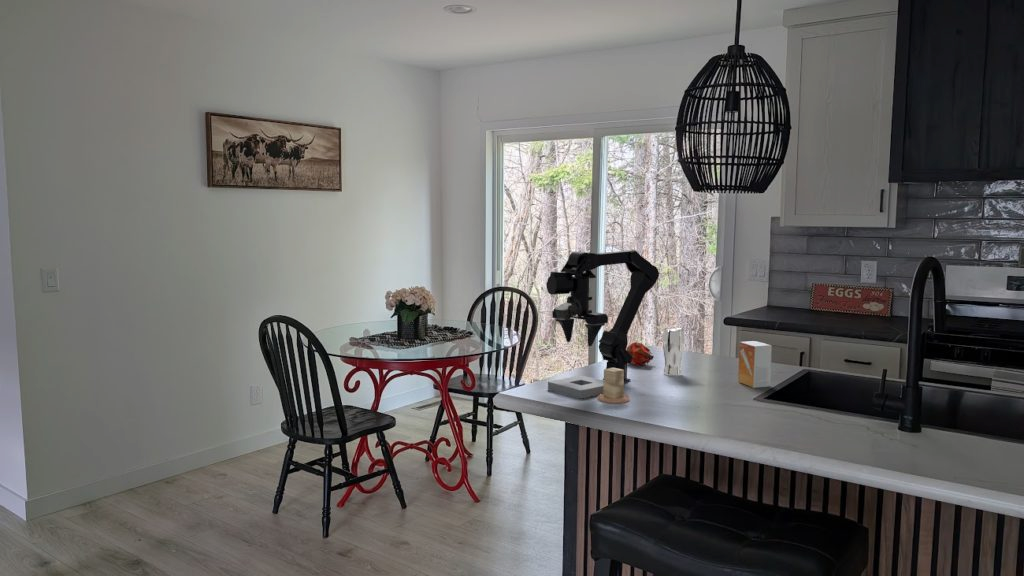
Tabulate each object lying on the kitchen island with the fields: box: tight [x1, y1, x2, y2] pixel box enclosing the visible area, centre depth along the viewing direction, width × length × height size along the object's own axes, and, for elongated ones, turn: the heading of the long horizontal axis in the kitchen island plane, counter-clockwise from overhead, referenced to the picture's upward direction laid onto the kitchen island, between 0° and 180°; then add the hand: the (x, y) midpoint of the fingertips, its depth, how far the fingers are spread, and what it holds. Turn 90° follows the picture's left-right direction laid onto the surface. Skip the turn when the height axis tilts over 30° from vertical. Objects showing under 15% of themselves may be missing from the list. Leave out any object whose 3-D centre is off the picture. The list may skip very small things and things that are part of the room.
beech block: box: [603, 368, 625, 400], centre depth 208 cm, size 4×4×8 cm
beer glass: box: [662, 327, 686, 377], centre depth 240 cm, size 7×7×15 cm
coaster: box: [597, 394, 630, 404], centre depth 208 cm, size 9×9×1 cm
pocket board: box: [547, 375, 604, 400], centre depth 218 cm, size 14×14×2 cm
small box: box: [737, 340, 773, 389], centre depth 227 cm, size 8×6×13 cm
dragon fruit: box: [626, 341, 654, 367], centre depth 256 cm, size 8×8×12 cm
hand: (579, 343), depth 223 cm, fingers open, 9 cm apart
